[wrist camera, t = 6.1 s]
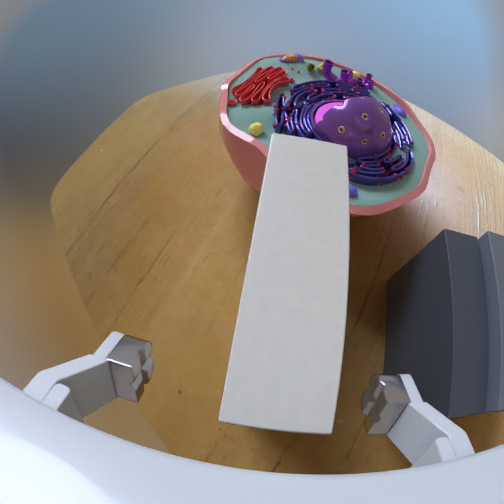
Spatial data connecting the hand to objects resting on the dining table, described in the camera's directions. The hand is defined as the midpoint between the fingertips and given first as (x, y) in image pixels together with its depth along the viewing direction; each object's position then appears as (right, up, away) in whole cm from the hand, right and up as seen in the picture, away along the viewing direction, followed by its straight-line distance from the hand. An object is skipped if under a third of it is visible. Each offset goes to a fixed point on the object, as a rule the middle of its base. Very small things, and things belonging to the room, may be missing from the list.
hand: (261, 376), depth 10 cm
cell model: (+5, +12, +18) cm, 23 cm away
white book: (+1, -2, +11) cm, 12 cm away
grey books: (+15, -4, +11) cm, 19 cm away
